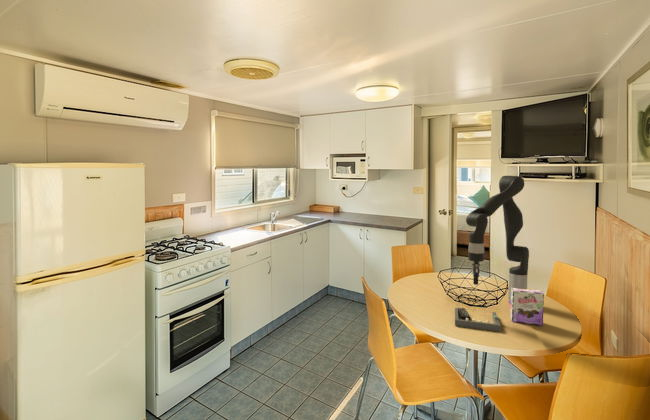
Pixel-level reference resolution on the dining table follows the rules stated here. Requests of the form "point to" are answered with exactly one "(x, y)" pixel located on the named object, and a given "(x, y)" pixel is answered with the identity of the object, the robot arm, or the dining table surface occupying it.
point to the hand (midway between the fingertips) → (475, 284)
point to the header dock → (478, 323)
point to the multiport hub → (463, 313)
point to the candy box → (527, 306)
